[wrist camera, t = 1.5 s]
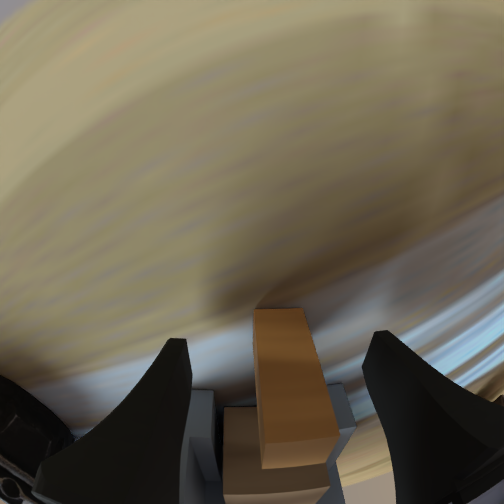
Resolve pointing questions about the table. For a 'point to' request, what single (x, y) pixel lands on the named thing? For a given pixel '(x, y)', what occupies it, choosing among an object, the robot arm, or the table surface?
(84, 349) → the table surface
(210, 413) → the grey u-shaped cradle
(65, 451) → the robot arm
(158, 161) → the table surface
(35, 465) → the container
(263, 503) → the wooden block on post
